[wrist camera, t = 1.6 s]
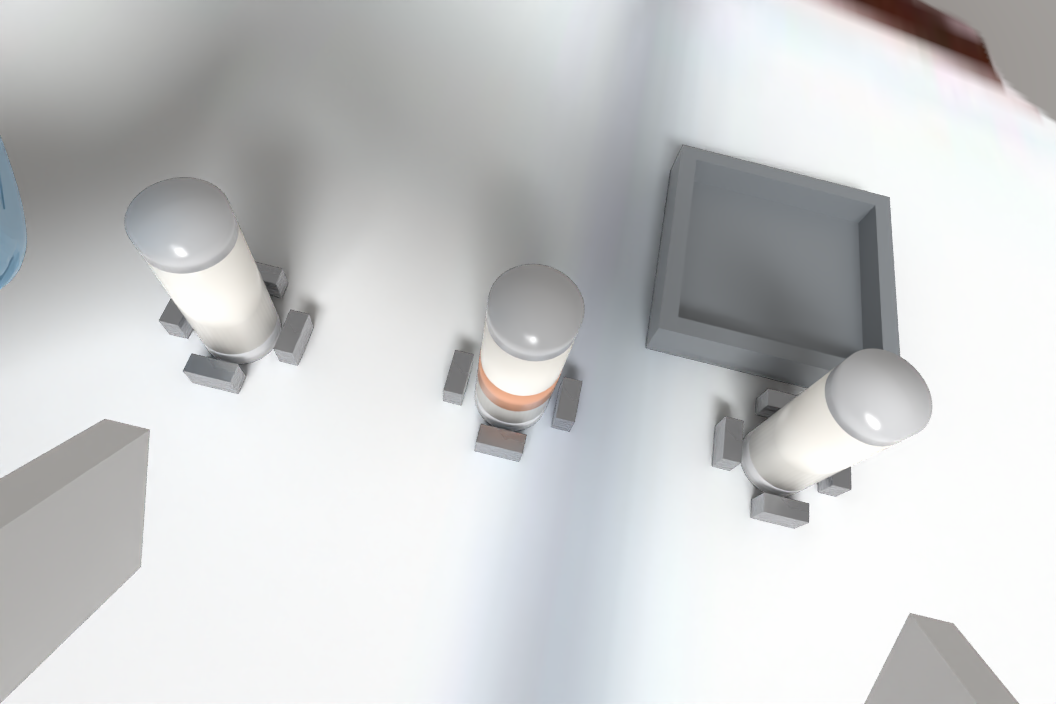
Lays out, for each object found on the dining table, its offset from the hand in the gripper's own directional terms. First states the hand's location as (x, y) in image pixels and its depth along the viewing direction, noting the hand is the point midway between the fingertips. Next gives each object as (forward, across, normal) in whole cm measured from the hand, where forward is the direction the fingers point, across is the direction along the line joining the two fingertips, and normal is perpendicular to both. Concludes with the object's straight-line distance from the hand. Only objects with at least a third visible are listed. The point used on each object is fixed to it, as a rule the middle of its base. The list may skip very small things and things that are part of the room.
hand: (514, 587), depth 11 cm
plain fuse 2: (+24, +14, -6) cm, 29 cm away
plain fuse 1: (+24, -16, -6) cm, 29 cm away
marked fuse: (+24, -1, -6) cm, 25 cm away
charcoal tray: (+32, +13, +2) cm, 35 cm away
